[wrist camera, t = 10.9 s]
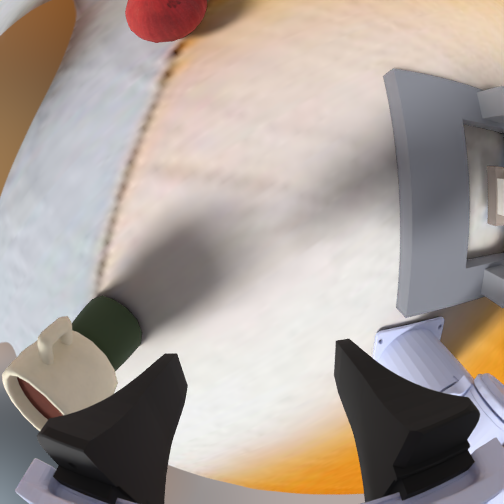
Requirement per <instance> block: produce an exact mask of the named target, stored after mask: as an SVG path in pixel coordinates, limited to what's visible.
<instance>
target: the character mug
mask: <svg viewBox="0 0 504 504" xmlns="http://www.w3.org/2000/svg"><path fill="white" fill-rule="evenodd" d="M141 336H142V331H141V329H140V326H139V324H138V321H137V319H136V318H135V317H134V316H133V315H132V314H131V312H130V311H129V310H128V309H127V308H126V307H125V306H123V305H121V304H120V303H118V302H117V301H115V300H114V299H111V298H108V297H105V296H100V297H97V298H94V299H92V300H91V301H90V302H89V303H88V304H87V305H86V306H85V308H84V309H83V310H82V311H81V312H80V314H79V315H78V316H77V317H76V319H75V320H74V321H73V323H71V321H70V319H69V318H68V316H64V317H60V318H58V319H57V320H56V321H54V322H53V323H52V324H51V325H50V326H48V327H47V328H46V329H45V330H44V331H42V332H41V334H40V335H39V336H38V340H37V341H36V342H35V343H33V344H32V345H30V346H28V347H27V348H26V349H25V350H23V351H22V352H21V353H20V354H19V356H18V357H17V358H16V359H15V360H14V361H13V362H12V363H11V364H10V365H9V366H8V367H7V369H6V370H5V371H4V373H3V374H2V380H3V384H4V387H5V389H6V391H7V393H8V395H9V397H10V398H11V400H12V402H13V403H14V404H15V406H16V407H17V408H18V410H19V411H20V412H21V413H22V415H23V416H24V417H25V418H26V419H27V420H28V421H29V422H30V423H31V424H32V425H34V427H35V428H37V429H38V430H39V431H41V429H42V428H43V426H44V425H45V423H46V422H47V421H48V419H49V418H54V417H58V416H63V415H67V414H70V413H74V412H77V411H80V410H82V409H85V408H87V407H90V406H92V405H94V404H96V403H98V402H100V401H102V400H104V399H106V398H108V397H109V396H111V395H113V394H114V392H115V389H116V387H117V384H118V382H117V378H116V374H115V371H116V370H117V369H118V368H119V367H120V366H121V365H122V364H123V363H124V362H125V361H126V360H127V359H128V358H129V357H130V356H131V355H132V353H133V352H134V351H135V350H136V349H137V348H138V347H139V345H140V344H141Z"/></svg>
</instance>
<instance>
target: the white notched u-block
mask: <svg viewBox="0 0 504 504" xmlns="http://www.w3.org/2000/svg"><path fill="white" fill-rule="evenodd" d="M487 180H488V224H491V225H494V226H502V225H504V167H497V166H487Z"/></svg>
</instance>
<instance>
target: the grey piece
mask: <svg viewBox="0 0 504 504" xmlns="http://www.w3.org/2000/svg"><path fill="white" fill-rule="evenodd" d="M383 78H384V82H385V87H386V91H387V96H388V102H389V107H390V113H391V118H392V125H393V132H394V139H395V147H396V156H397V166H398V178H399V195H400V265H399V282H398V294H397V304H396V308H397V309H398V310H399V311H400V312H401V313H402V314H403V315H404V317H405V318H407V317H411V316H416V315H420V314H424V313H428V312H432V311H436V310H440V309H444V308H447V307H451V306H455V305H458V304H462V303H465V302H468V301H472V300H475V299H478V298H481V297H487V298H488V299H490V300H491V301H493V302H494V303H496V304H497V305H499V306H500V307H501V308H504V252H502V253H497V254H493V255H488V256H483V257H478V258H472V259H467V251H468V237H469V209H470V201H469V173H468V159H467V149H466V141H465V134H464V127H463V124H465V125H470V126H475V127H480V128H484V129H488V130H493V131H497V132H501V133H503V136H504V87H503V86H499V87H495V88H491V89H487V90H481V89H478V88H475V87H472V86H469V85H466V84H463V83H459V82H456V81H452V80H448V79H444V78H440V77H436V76H432V75H427V74H422V73H417V72H412V71H406V70H400V69H392V70H390V71H389V72H388V73H386V74H385V75H384V76H383Z"/></svg>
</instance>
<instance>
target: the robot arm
mask: <svg viewBox="0 0 504 504" xmlns="http://www.w3.org/2000/svg"><path fill="white" fill-rule="evenodd" d="M439 325H440V326H439ZM443 325H444V318H443V317H437V318H433V319H429V320H425V321H421V322H417V323H413V324H409V325H405V326H400V327H396V328H391V329H387V330H382V331H379V332H378V333H377V334H376V336H375V344H374V352H373V358H372V357H371V356H369V355H368V354H367V353H366V352H364V351H363V350H362V349H361V348H359V347H358V346H357V345H356V344H355V343H354V342H352V341H351V340H350V339H344V340H338V341H336V351H335V369H334V376H335V381H336V385H337V389H338V393H339V396H340V399H341V401H342V404H343V407H344V409H345V412H346V415H347V417H348V420H349V423H350V425H351V428H352V431H353V434H354V438H355V442H356V447H357V451H358V456H359V462H360V467H361V473H362V480H363V487H364V496H365V503H361V504H504V385H503V384H502V383H501V382H500V381H499V380H497V379H496V378H495V377H494V376H492V375H491V374H489V373H486V374H478V375H477V377H476V378H475V379H474V378H473V377H472V376H471V375H470V374H469V373H468V371H467V370H466V369H465V368H464V367H463V366H462V365H461V363H460V362H459V361H458V360H457V359H456V358H455V357H454V356H453V354H452V353H451V352H450V351H449V350H448V349H447V348H446V347H445V346H444V345H443V344H442V343H441V341H440V338H441V334H442V330H443ZM438 326H439V327H438ZM381 339H382V340H381ZM379 340H381V341H380V342H379ZM187 386H188V385H187V382H186V379H185V377H184V374H183V371H182V367H181V364H180V361H179V358H178V355H177V354H164V355H163V356H161V357H160V358H159V359H158V360H157V361H156V362H154V363H153V364H152V365H151V366H150V367H149V368H147V369H146V370H145V371H144V372H143V373H142V374H140V375H139V376H138V377H137V378H135V379H134V380H133V381H131V382H130V383H129V384H127V385H126V386H125V387H123V388H122V389H121V390H119V391H118V392H116V393H115V394H113V395H111V396H109V397H108V398H106V399H104V400H102V401H100V402H98V403H96V404H94V405H92V406H90V407H87V408H85V409H82V410H80V411H77V412H74V413H70V414H67V415H63V416H58V417H54V418H49V419H48V421H47V422H46V423H45V425H44V426H43V428H42V429H41V431H40V432H39V434H38V435H37V439H38V441H39V443H40V445H41V446H42V447H43V449H44V450H45V451H46V452H47V453H48V454H49V455H50V456H51V458H52V459H53V460H54V461H55V462H56V463H57V464H58V465H59V466H58V468H57V470H56V469H55V468H54V467H52V466H50V465H48V464H46V463H44V462H43V461H41V460H39V459H37V458H34V460H33V462H32V463H31V465H30V467H29V468H28V470H27V471H26V473H25V474H24V476H23V478H22V479H21V481H20V483H19V485H18V486H17V488H16V490H15V492H16V493H17V494H18V495H19V496H21V497H22V498H23V499H24V500H26V501H27V502H28V503H29V504H164V495H165V482H166V473H167V466H168V460H169V454H170V449H171V444H172V441H173V437H174V434H175V431H176V428H177V425H178V422H179V419H180V416H181V413H182V410H183V407H184V404H185V399H186V393H187Z"/></svg>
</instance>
